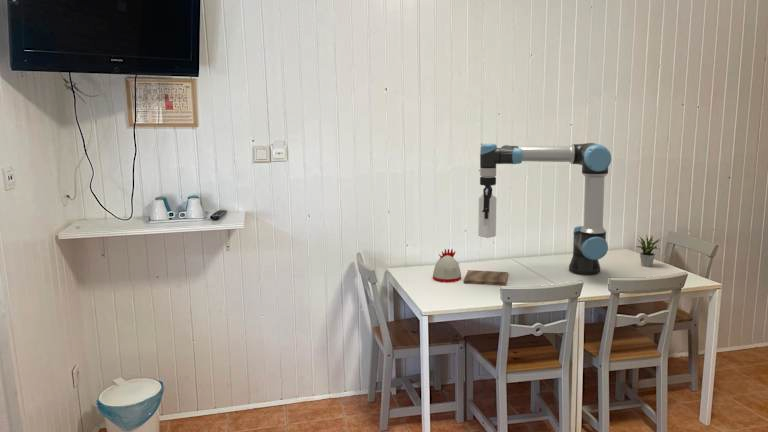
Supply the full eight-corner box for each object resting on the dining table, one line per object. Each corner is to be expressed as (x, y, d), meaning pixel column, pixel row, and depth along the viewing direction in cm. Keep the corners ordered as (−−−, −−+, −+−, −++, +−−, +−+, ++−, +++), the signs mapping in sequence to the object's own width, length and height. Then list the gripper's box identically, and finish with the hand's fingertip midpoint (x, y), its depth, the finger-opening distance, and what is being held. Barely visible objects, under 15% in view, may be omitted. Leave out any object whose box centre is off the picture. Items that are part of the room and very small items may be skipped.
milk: (487, 238, 296) (487, 192, 292) (478, 236, 301) (478, 191, 297) (496, 236, 300) (496, 191, 296) (486, 234, 305) (487, 189, 300)
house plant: (664, 270, 311) (666, 239, 308) (634, 269, 315) (636, 237, 312) (661, 263, 324) (663, 232, 321) (632, 261, 329) (634, 231, 325)
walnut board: (508, 274, 310) (508, 271, 310) (505, 285, 293) (505, 282, 293) (468, 272, 315) (468, 270, 315) (463, 283, 298) (463, 280, 298)
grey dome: (464, 281, 301) (464, 251, 299) (436, 283, 299) (436, 253, 296) (456, 273, 315) (456, 244, 312) (430, 275, 313) (429, 246, 310)
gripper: (482, 173, 306) (481, 219, 310) (477, 179, 286) (477, 227, 290) (497, 174, 304) (497, 219, 308) (494, 179, 284) (493, 228, 288)
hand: (487, 223), depth 299 cm, fingers closed on milk, 8 cm apart
